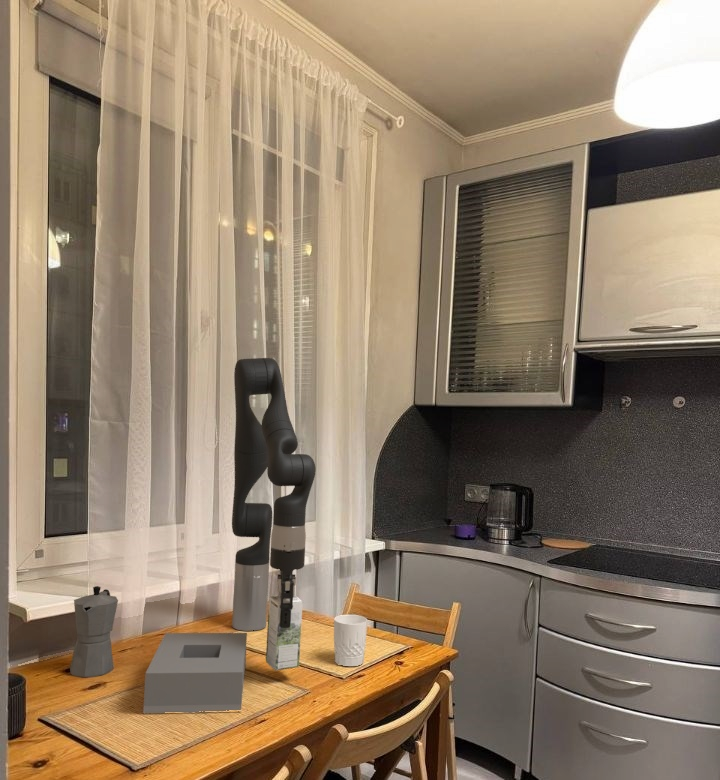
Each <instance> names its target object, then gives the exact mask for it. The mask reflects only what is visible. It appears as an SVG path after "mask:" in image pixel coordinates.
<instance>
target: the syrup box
mask: <svg viewBox="0 0 720 780" xmlns="http://www.w3.org/2000/svg"><path fill="white" fill-rule="evenodd" d="M280 601H281V600H280V599H279V598H278V595H273V596H269V597H268V609H267V632H266V633H267V634H266V653H265V662H266V664H268V666H270V667H271V669H273V670H274V671H282V670H287V669H294V668H299V667H300V656H301V655H300V653H301V641H302V640H301V637H302V621H303V620H302V618H303V603H304V602H303V600H301V599H300V597H298V596H297V595H295V596H294V599H293V608H292V610H291V624H290V627H289V628H281V627H280V613H281V610H280ZM283 603H290V600H289V599H283Z"/></svg>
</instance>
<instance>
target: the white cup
mask: <svg viewBox="0 0 720 780" xmlns="http://www.w3.org/2000/svg"><path fill="white" fill-rule="evenodd" d="M367 627H368V618H366V617H364V616H363V615H360V614H359V615H358V614H341V615H337V616H334V619H333V641H334V643H333V645H334V647H333V649H334V663H335V662H336V663H337V664H339V665H343V666H358V665H361V664H362V663H363V664H364V660H365V651H366V644H367V643H366V642H367V641H366V640H367V632H368V631H367V629H368V628H367ZM336 663H335V664H336ZM337 664H336V665H337ZM363 664H362V665H363ZM339 665H338V666H339ZM362 665H361V666H362ZM358 667H359V666H358Z"/></svg>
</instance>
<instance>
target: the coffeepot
mask: <svg viewBox="0 0 720 780" xmlns="http://www.w3.org/2000/svg"><path fill="white" fill-rule="evenodd" d="M101 588H102V586H99V585H96V586H93V587H92V590H93V594H89V595H85V596H81V597H78V598H76V599H73V602H74V603H73V605H74V615H75V616H74V617H75V627H76V634H77V639H76V641H75V645H74V649H73V654H72V657H71V658H72V659H71V662H70V667H69V670H70V671H69V672H70V674H71V675H72V676H74V677H77V678H96V677H101V676H104V675H107V674H109V673H110V672H112V671H113V670H114V668H115V667H114V658H113V649H112V640H111V631H113V626H114V621H115V617H116V613H117V608H118V602H119V600H118V598H117V596H113V595H111V594H110V591H109V589H107V588H106V589H103V590H102V591H101Z"/></svg>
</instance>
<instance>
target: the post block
mask: <svg viewBox="0 0 720 780" xmlns="http://www.w3.org/2000/svg"><path fill="white" fill-rule="evenodd" d="M247 635H248V633H247V632H165V633H164V635H163V637H162V640H161V641H160V643H159V645H158V647H157V649H156V651H155V654H154V655H153V657H152V659H151V661H150V664H149V666H148V667H147V669H146V671H145V673H144V674H145V676H144V694H143V711H142V714H143V713H165V712H199V711H201V712H202V711H203V712H205V711H226V710H227V711H229V710H241V711H242V705H241V704H243V695H242V694H244V685H243V684H245V675H244V674H245V673H246V663H247V662H246V659H247V657H246V656H247V641H248V639H247V638H248V636H247Z"/></svg>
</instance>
